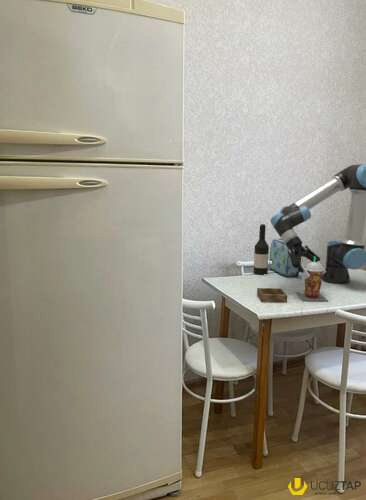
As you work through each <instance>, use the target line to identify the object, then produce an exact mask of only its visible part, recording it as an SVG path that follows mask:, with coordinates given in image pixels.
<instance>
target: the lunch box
mask: <svg viewBox="0 0 366 500" xmlns="http://www.w3.org/2000/svg"><path fill="white" fill-rule="evenodd" d="M288 250H289V249H288V248H287V246H286V244H285V243H284V242H283V240H282V239H281V238H274V239H272V241H271V245H270V247H269V262H270V261H272V264H270V263H269V267H270V269H271V270H273V271H274V272H276V273H277V274H280V275H281V276H283V277H299V275H300V273H301V272H300V271H299V269H298V268H296V269H295V267H293V266H292V262H291V259H290V255H289V253H288ZM300 261H301V262H302V256H300Z"/></svg>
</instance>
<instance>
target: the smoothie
mask: <svg viewBox="0 0 366 500" xmlns="http://www.w3.org/2000/svg"><path fill="white" fill-rule="evenodd" d="M315 257H316V256H314V262H312V261H310V262H309V263H308V264H307V265H306V267H304V268H305V269H306V271H307V272H308V274H309V275H310V276H309V277H308V278H307V279H305V278H304V293H305V294H306V297H309V298H318V295H320V294H321V286H322V281H323V280H322V273H323V269H322V267H323V266H322V267H321V265H322V264H321V263H320V264H321V265H320V264H319V263H317V262H315Z"/></svg>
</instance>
